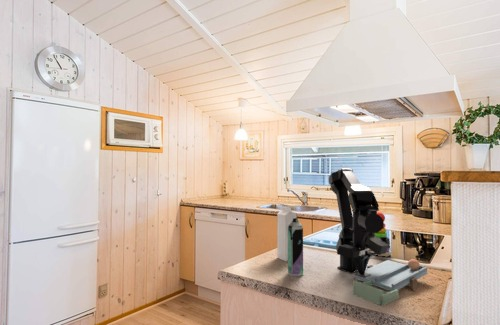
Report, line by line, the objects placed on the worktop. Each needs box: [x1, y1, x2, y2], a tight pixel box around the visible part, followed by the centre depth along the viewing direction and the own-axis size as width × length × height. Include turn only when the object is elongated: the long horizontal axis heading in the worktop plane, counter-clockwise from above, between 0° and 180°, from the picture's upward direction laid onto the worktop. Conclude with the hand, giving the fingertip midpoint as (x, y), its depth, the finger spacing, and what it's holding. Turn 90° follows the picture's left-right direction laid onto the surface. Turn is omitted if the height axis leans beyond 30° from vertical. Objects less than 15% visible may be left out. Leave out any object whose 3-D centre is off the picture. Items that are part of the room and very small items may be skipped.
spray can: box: [287, 217, 304, 277], centre depth 109 cm, size 6×6×20 cm
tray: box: [352, 280, 400, 307], centre depth 88 cm, size 9×8×4 cm
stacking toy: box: [372, 211, 391, 257], centre depth 133 cm, size 8×8×19 cm
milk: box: [276, 205, 298, 262], centre depth 127 cm, size 6×6×22 cm
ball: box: [407, 258, 421, 270], centre depth 101 cm, size 4×4×4 cm
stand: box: [366, 264, 418, 292], centre depth 100 cm, size 16×2×3 cm, turn 34°
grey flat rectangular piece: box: [353, 259, 428, 292], centre depth 100 cm, size 14×20×2 cm
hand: (361, 274), depth 100 cm, fingers closed, pressing on grey flat rectangular piece
